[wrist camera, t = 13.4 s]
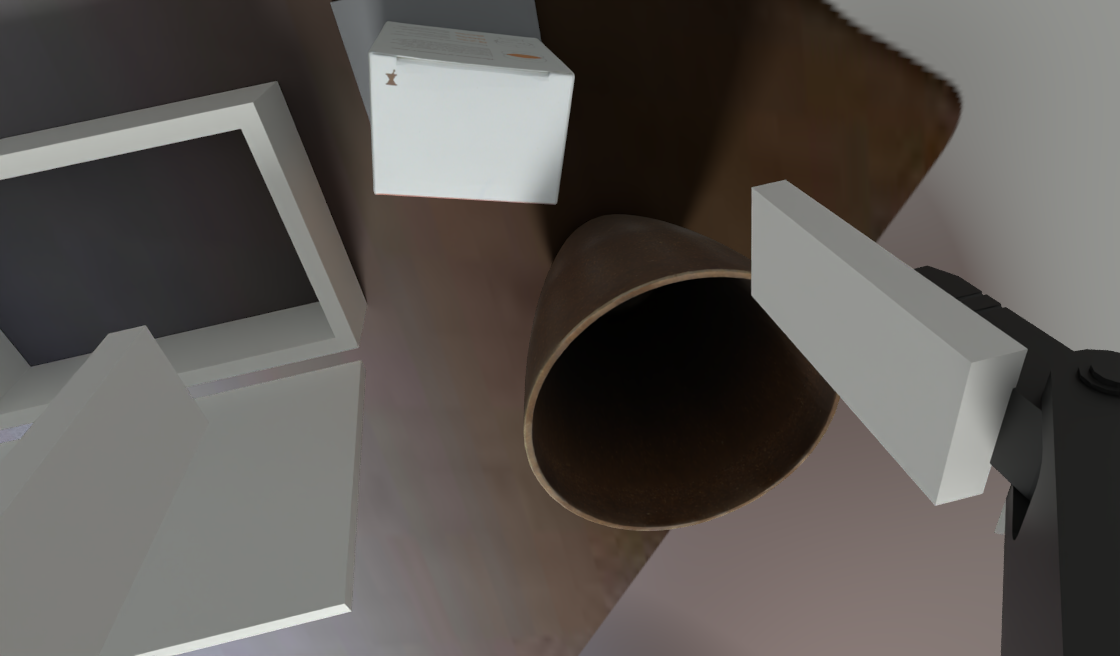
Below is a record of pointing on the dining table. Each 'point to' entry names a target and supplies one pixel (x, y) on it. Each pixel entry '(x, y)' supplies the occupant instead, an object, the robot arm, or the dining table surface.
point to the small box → (467, 115)
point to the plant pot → (662, 380)
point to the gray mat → (425, 23)
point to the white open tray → (263, 116)
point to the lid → (254, 519)
